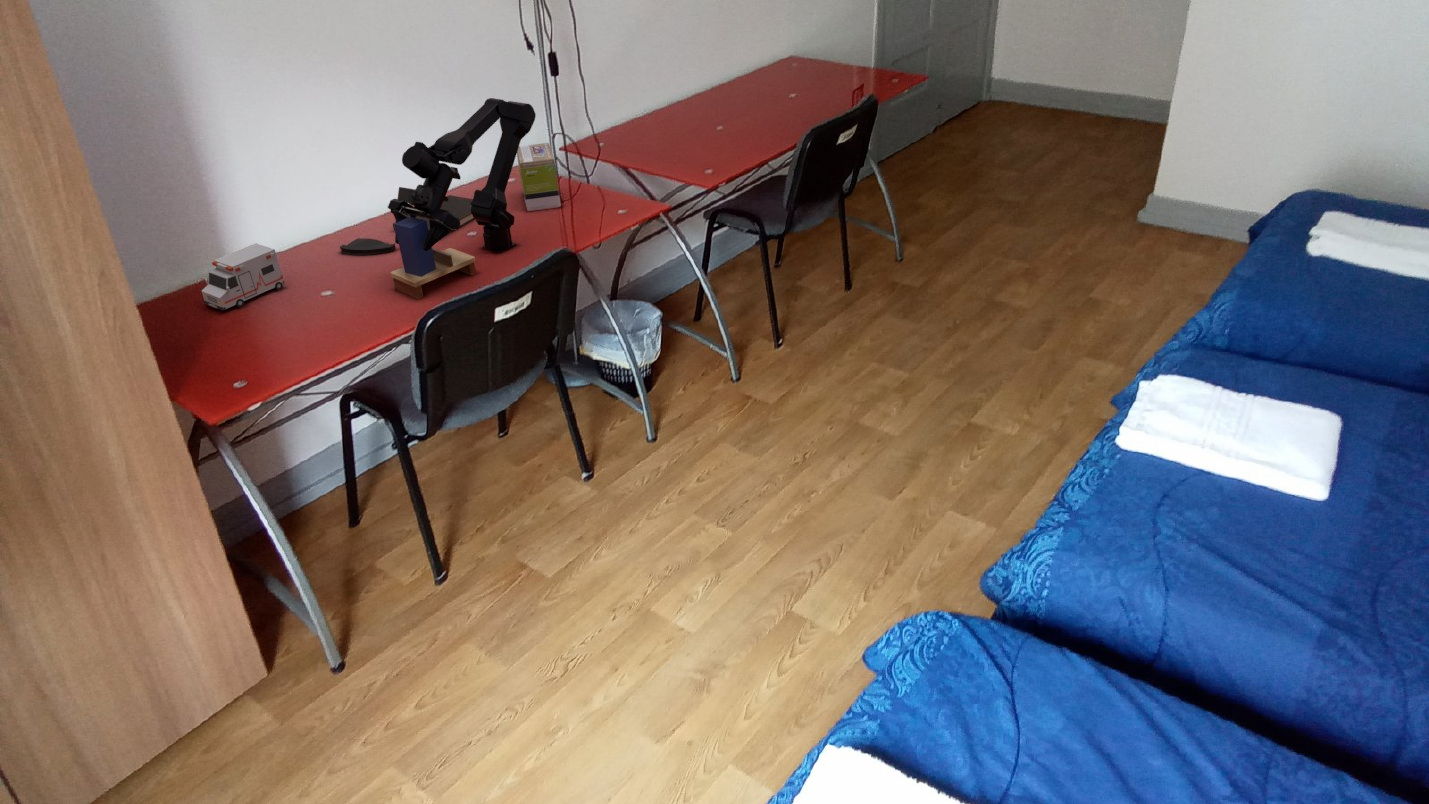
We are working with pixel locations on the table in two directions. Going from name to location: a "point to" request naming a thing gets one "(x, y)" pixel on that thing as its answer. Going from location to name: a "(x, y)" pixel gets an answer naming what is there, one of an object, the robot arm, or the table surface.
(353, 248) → the fan shaped piece
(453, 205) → the hardcover book
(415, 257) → the navy carton
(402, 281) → the wooden stand
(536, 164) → the tea box
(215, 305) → the toy vehicle
